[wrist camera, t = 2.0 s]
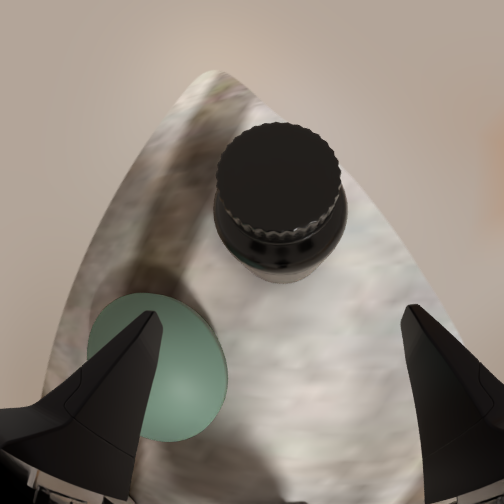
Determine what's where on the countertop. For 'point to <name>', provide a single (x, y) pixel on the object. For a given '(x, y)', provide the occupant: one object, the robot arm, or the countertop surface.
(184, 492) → the countertop surface
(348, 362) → the countertop surface
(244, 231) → the supplement bottle
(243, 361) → the countertop surface
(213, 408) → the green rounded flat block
